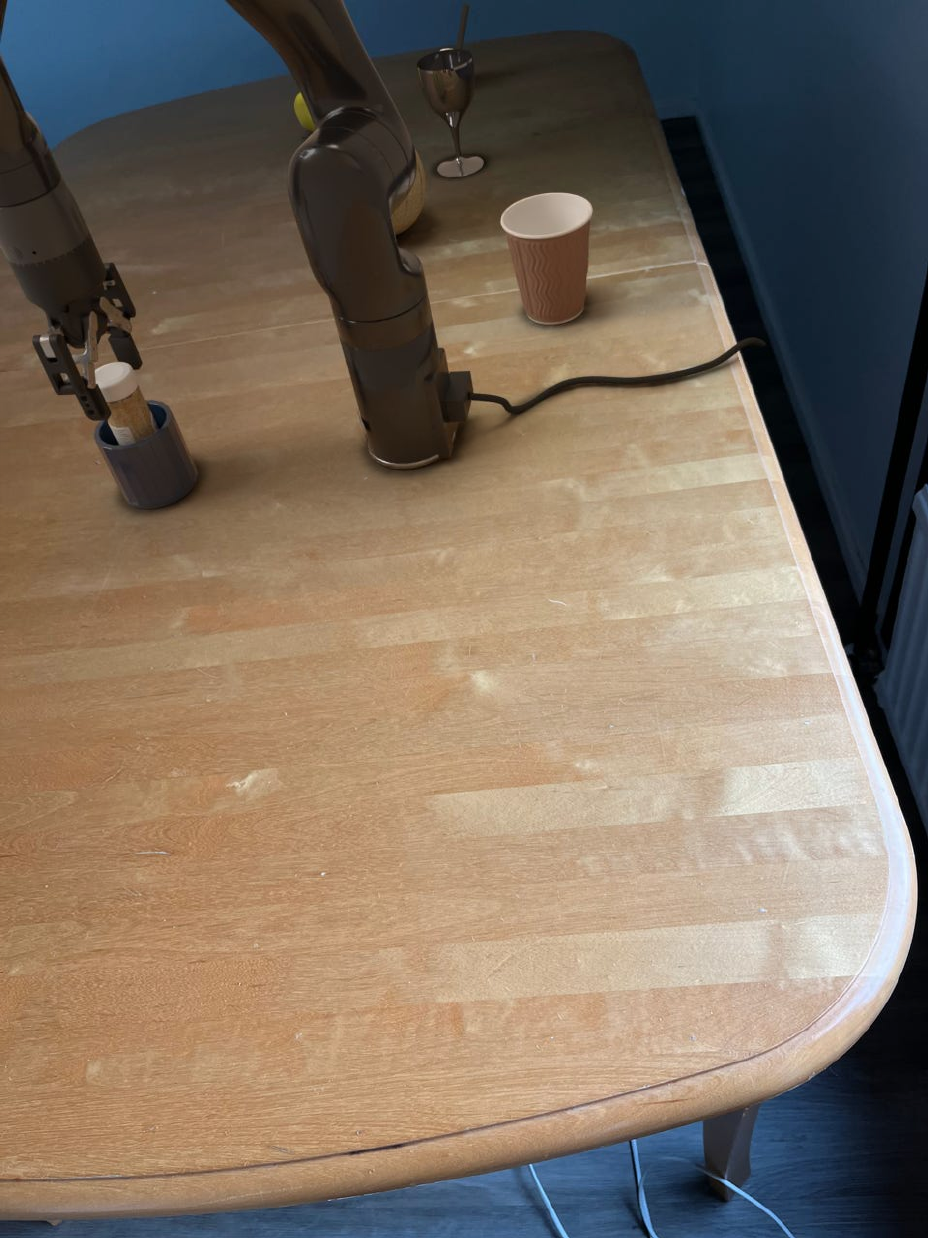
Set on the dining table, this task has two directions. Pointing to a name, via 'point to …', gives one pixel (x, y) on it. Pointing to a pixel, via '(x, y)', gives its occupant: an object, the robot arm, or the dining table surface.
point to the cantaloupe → (411, 202)
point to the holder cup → (150, 462)
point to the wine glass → (450, 100)
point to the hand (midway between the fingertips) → (117, 392)
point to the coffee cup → (550, 254)
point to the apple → (303, 113)
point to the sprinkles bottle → (125, 403)
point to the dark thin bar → (462, 26)
